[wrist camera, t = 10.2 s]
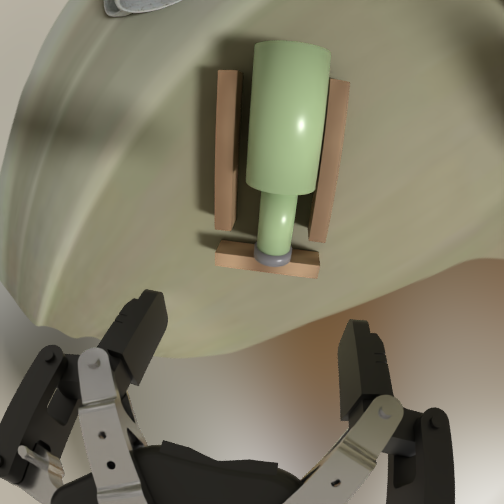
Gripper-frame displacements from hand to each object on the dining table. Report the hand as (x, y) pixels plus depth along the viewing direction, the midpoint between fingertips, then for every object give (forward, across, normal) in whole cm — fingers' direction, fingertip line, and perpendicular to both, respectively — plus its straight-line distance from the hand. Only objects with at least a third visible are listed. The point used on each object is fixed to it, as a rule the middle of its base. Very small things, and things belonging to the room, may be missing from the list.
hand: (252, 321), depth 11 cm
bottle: (+13, 0, -13) cm, 18 cm away
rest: (+16, 0, -2) cm, 16 cm away
